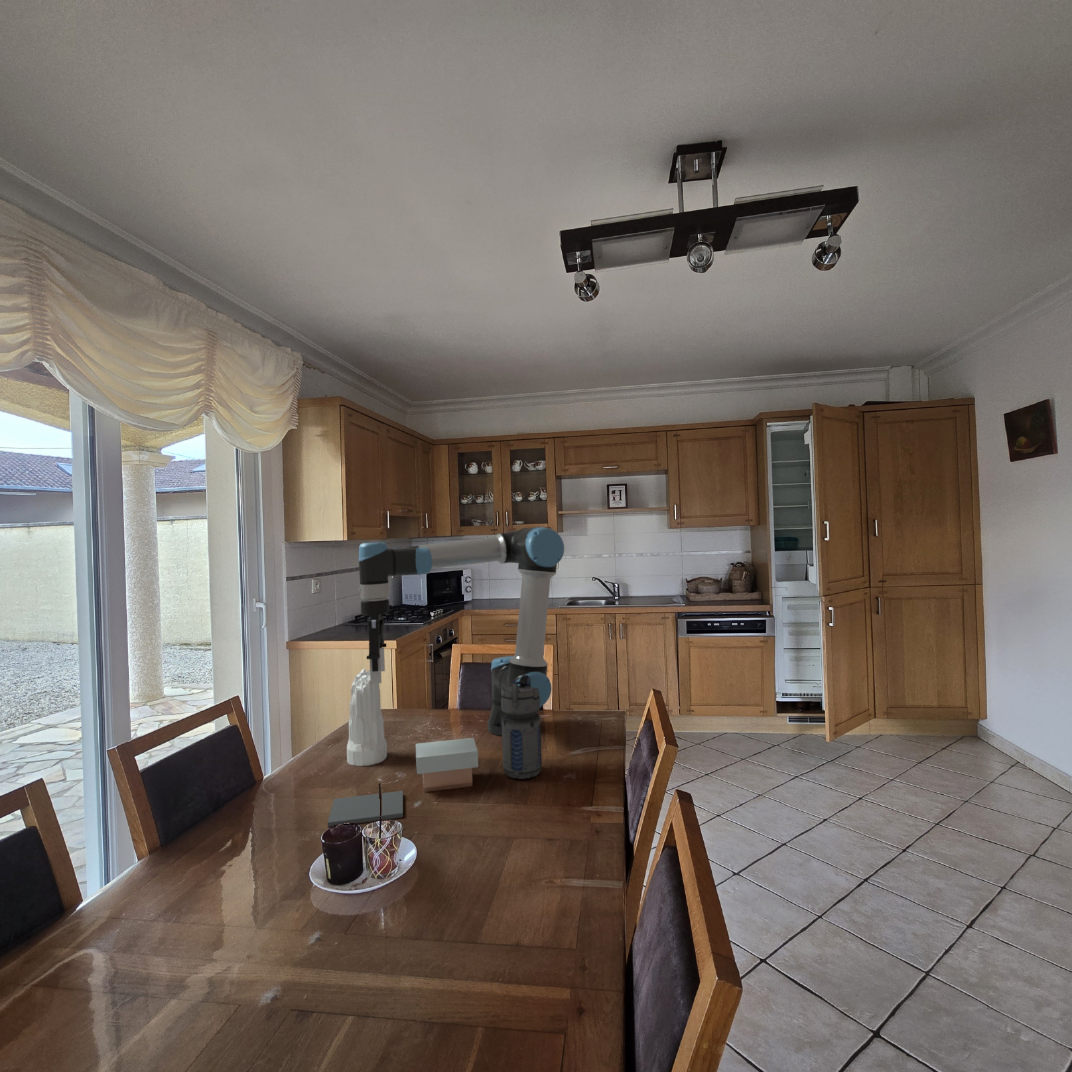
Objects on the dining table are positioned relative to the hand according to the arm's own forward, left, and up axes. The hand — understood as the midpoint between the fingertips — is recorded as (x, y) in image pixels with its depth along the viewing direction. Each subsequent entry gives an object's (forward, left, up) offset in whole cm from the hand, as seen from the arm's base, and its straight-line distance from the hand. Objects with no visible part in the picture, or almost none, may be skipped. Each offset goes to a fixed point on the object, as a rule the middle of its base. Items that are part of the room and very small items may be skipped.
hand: (378, 677), depth 162 cm
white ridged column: (+4, -8, -25) cm, 27 cm away
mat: (+2, +25, -25) cm, 35 cm away
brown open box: (-17, +15, -25) cm, 33 cm away
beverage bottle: (-37, +14, -25) cm, 47 cm away
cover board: (-17, +15, -20) cm, 30 cm away
